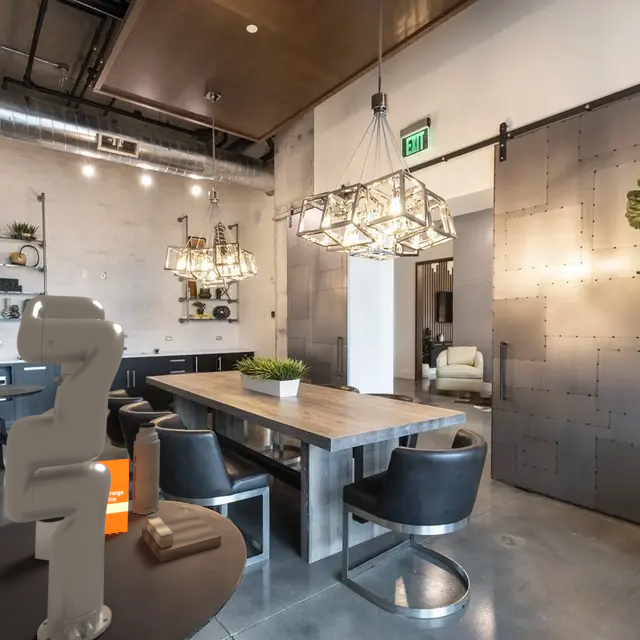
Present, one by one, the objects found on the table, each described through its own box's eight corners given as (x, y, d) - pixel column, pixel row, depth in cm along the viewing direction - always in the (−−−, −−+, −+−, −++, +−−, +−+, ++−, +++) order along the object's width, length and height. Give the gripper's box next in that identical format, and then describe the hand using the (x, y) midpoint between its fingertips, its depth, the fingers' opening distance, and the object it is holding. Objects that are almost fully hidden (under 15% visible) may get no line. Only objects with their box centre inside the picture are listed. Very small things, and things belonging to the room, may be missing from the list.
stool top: (220, 545, 121) (220, 535, 121) (160, 562, 112) (161, 552, 112) (196, 522, 136) (196, 514, 136) (141, 536, 126) (142, 527, 126)
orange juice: (95, 526, 133) (97, 458, 133) (127, 521, 136) (129, 455, 137) (93, 537, 125) (95, 465, 126) (127, 532, 129) (129, 462, 130)
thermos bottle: (130, 516, 140) (133, 426, 141) (133, 506, 148) (135, 421, 149) (157, 513, 142) (159, 425, 143) (159, 504, 150) (160, 420, 151)
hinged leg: (144, 526, 126) (145, 516, 126) (155, 524, 128) (155, 513, 128) (161, 548, 113) (161, 536, 113) (173, 544, 115) (173, 533, 115)
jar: (42, 547, 119) (43, 501, 120) (75, 543, 122) (77, 498, 122) (31, 563, 111) (32, 514, 111) (67, 558, 113) (69, 510, 114)
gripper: (41, 383, 114) (38, 450, 113) (113, 379, 124) (112, 441, 124) (37, 380, 120) (35, 445, 119) (107, 377, 130) (106, 436, 130)
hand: (74, 443), depth 121 cm, fingers open, 9 cm apart
